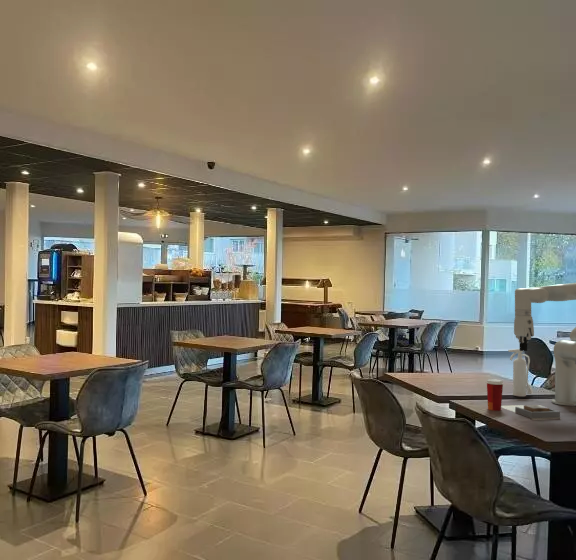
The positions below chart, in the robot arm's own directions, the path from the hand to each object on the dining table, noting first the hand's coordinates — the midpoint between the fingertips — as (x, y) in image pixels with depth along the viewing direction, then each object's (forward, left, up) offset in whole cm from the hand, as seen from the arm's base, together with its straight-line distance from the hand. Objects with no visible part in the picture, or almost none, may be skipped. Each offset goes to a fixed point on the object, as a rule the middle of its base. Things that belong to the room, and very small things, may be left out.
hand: (523, 350), depth 287 cm
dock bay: (+9, +17, -27) cm, 33 cm away
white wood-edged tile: (+9, +24, -26) cm, 37 cm away
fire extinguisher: (-15, -24, -27) cm, 39 cm away
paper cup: (+22, +11, -27) cm, 36 cm away
